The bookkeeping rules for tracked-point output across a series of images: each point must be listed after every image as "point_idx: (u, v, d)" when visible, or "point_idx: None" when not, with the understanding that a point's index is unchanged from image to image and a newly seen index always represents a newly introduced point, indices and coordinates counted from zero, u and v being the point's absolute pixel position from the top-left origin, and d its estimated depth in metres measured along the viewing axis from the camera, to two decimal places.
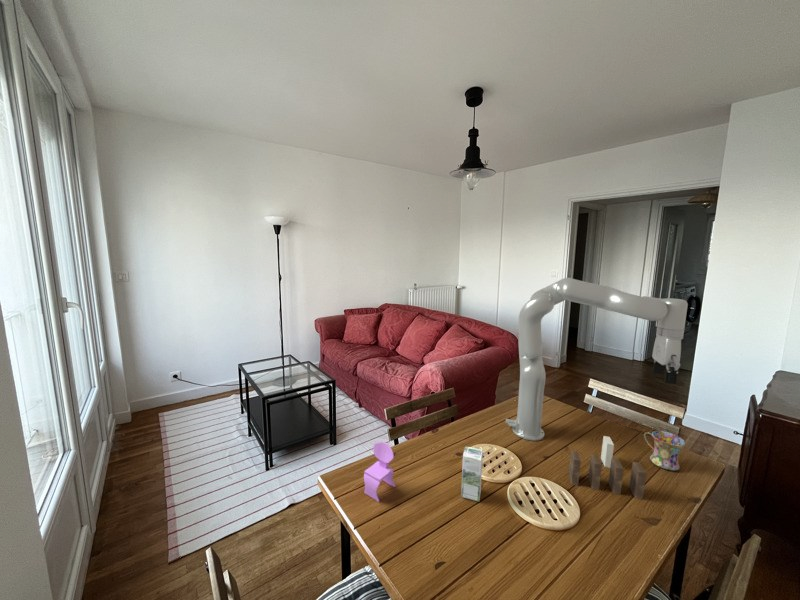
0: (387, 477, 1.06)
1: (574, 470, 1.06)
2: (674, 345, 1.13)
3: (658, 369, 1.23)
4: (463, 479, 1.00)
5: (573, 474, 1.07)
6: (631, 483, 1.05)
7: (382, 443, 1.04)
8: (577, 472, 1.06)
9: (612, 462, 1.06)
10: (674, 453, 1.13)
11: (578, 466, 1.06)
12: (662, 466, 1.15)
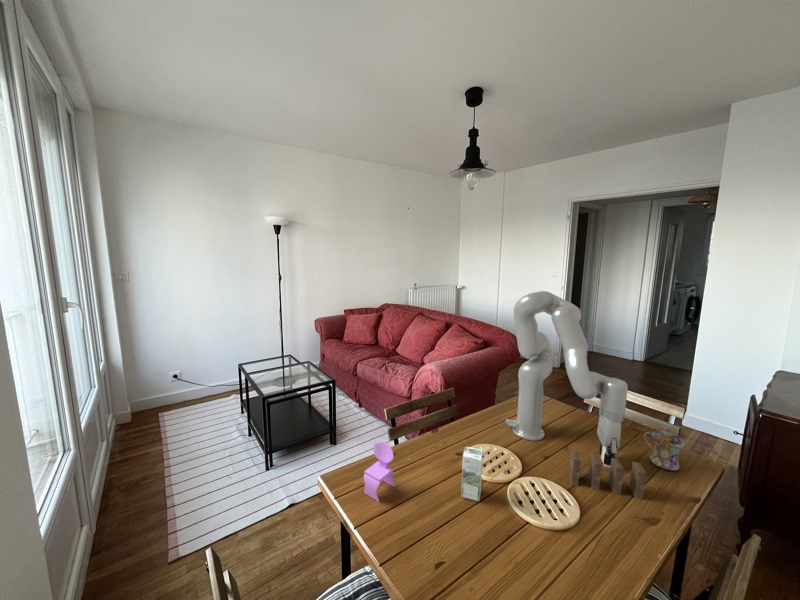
0: (387, 477, 1.06)
1: (574, 470, 1.06)
2: (614, 428, 1.12)
3: None
4: (463, 479, 1.00)
5: (573, 474, 1.07)
6: (631, 483, 1.05)
7: (382, 443, 1.04)
8: (577, 472, 1.06)
9: (612, 462, 1.06)
10: (674, 453, 1.13)
11: (578, 466, 1.06)
12: (662, 466, 1.15)
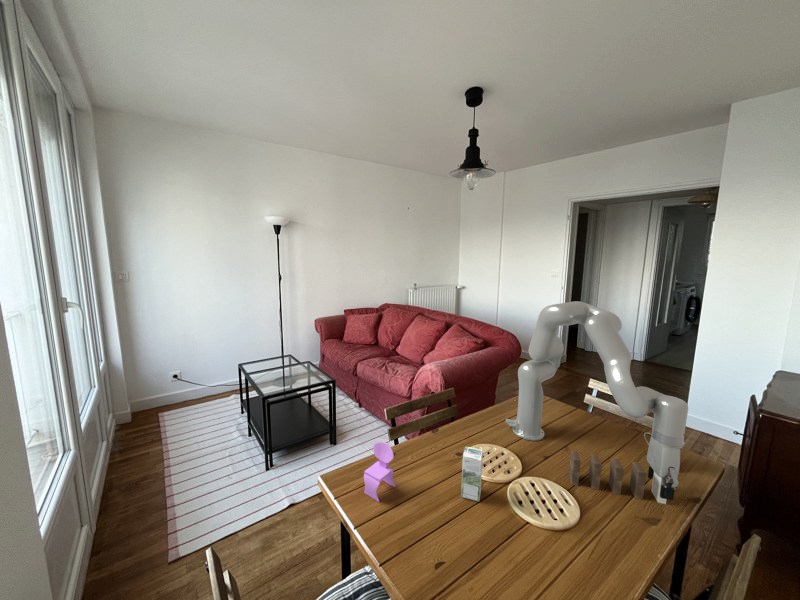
0: (387, 477, 1.06)
1: (574, 470, 1.06)
2: (672, 456, 0.95)
3: None
4: (463, 479, 1.00)
5: (573, 474, 1.07)
6: (631, 483, 1.05)
7: (382, 443, 1.04)
8: (577, 472, 1.06)
9: (612, 462, 1.06)
10: None
11: (578, 466, 1.06)
12: None
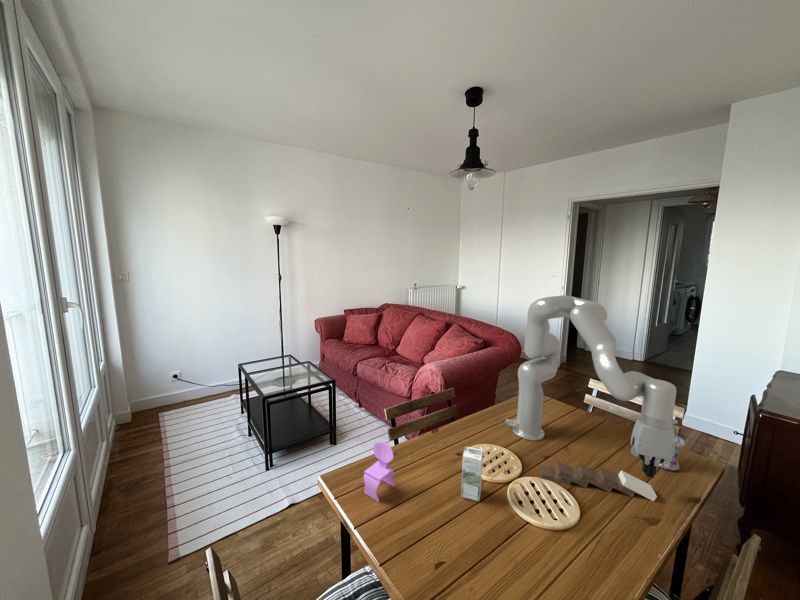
0: (387, 477, 1.06)
1: None
2: (636, 427, 1.01)
3: None
4: (463, 479, 1.00)
5: None
6: None
7: (382, 443, 1.04)
8: (554, 478, 1.09)
9: None
10: (674, 453, 1.13)
11: (547, 477, 1.09)
12: (662, 466, 1.15)
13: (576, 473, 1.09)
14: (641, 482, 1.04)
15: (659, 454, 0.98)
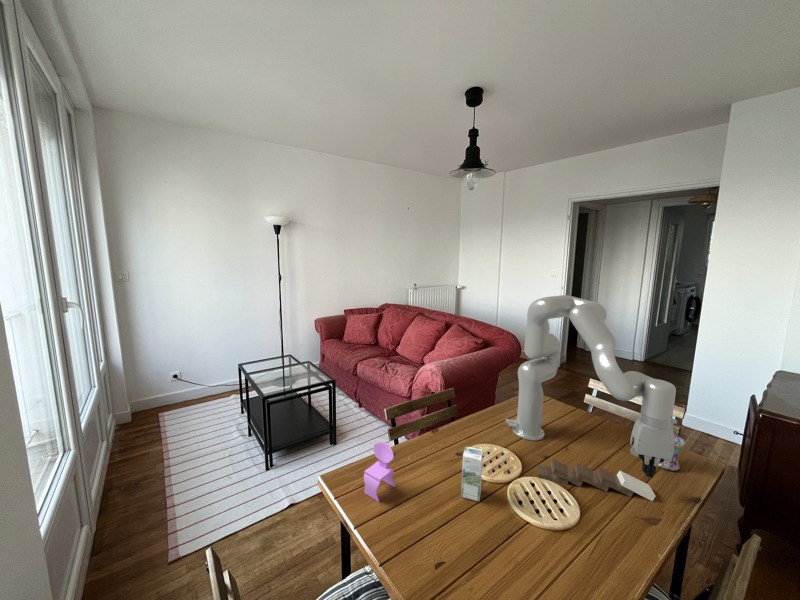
0: (387, 477, 1.06)
1: None
2: (635, 427, 1.01)
3: None
4: (463, 479, 1.00)
5: None
6: None
7: (382, 443, 1.04)
8: (552, 478, 1.09)
9: None
10: (674, 453, 1.13)
11: (545, 476, 1.10)
12: (662, 466, 1.15)
13: (571, 471, 1.09)
14: (640, 482, 1.04)
15: (659, 454, 0.98)
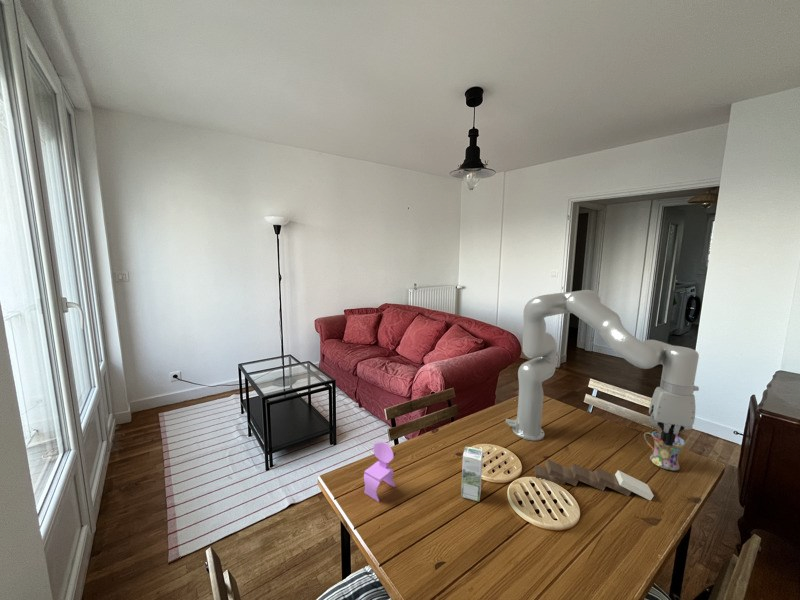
0: (387, 477, 1.06)
1: None
2: (655, 395, 1.00)
3: None
4: (463, 479, 1.00)
5: None
6: None
7: (382, 443, 1.04)
8: (549, 478, 1.09)
9: None
10: (674, 453, 1.13)
11: (542, 477, 1.10)
12: (662, 466, 1.15)
13: (566, 471, 1.09)
14: (638, 481, 1.05)
15: (679, 421, 0.97)
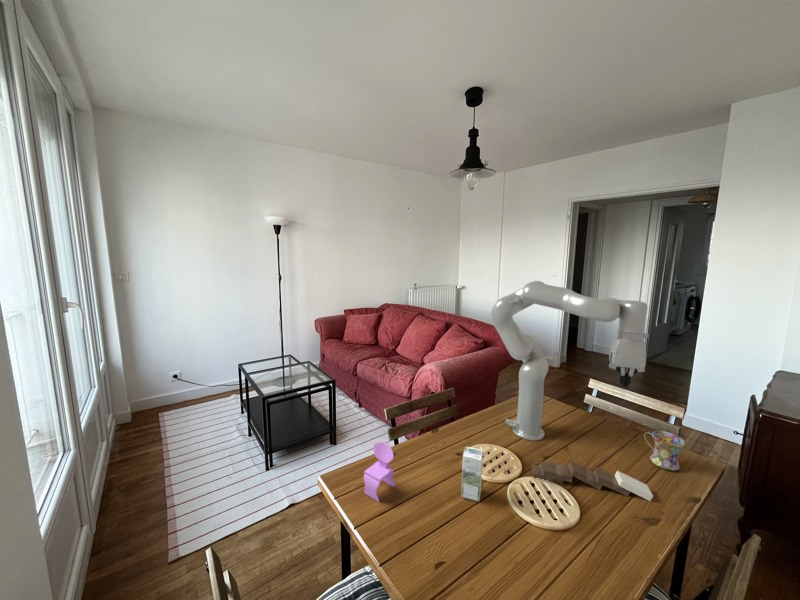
0: (387, 477, 1.06)
1: None
2: (613, 343, 1.16)
3: None
4: (463, 479, 1.00)
5: None
6: None
7: (382, 443, 1.04)
8: (547, 478, 1.09)
9: None
10: (674, 453, 1.13)
11: (540, 476, 1.09)
12: (662, 466, 1.15)
13: (560, 469, 1.09)
14: (637, 482, 1.04)
15: (633, 364, 1.13)
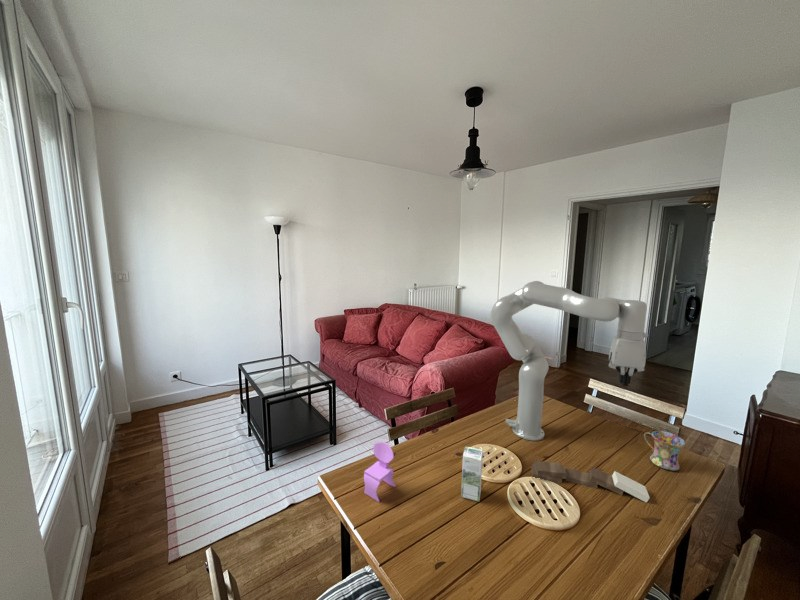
0: (387, 477, 1.06)
1: None
2: (613, 343, 1.16)
3: None
4: (463, 479, 1.00)
5: None
6: None
7: (382, 443, 1.04)
8: (546, 478, 1.09)
9: None
10: (674, 453, 1.13)
11: (539, 476, 1.10)
12: (662, 466, 1.15)
13: (554, 466, 1.11)
14: (635, 483, 1.04)
15: (632, 364, 1.13)
